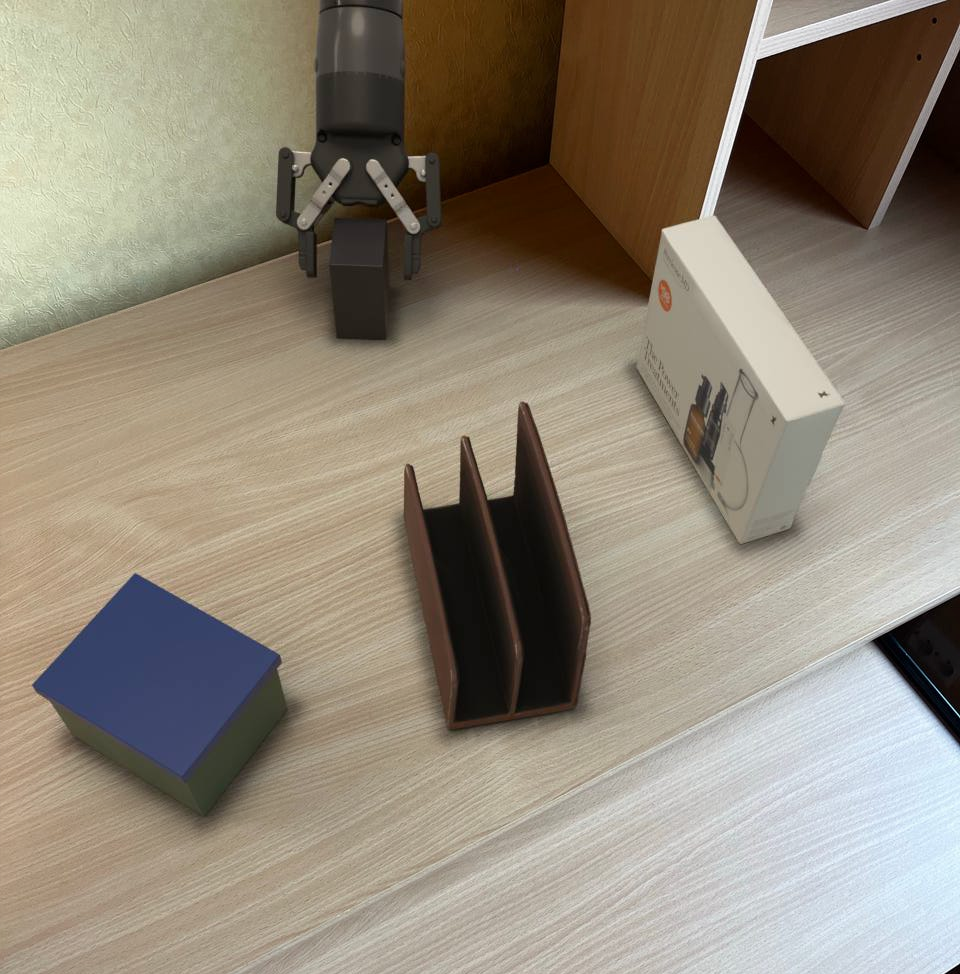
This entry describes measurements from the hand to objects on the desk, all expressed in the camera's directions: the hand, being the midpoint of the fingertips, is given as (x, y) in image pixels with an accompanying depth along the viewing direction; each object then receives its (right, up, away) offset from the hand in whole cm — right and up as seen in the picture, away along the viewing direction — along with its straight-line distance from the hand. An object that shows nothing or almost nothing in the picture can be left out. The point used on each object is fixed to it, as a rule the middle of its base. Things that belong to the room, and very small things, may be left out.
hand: (359, 278), depth 97 cm
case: (0, -2, +5) cm, 5 cm away
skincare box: (+30, -15, -1) cm, 34 cm away
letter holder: (+11, -30, -10) cm, 33 cm away
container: (-11, -38, -16) cm, 43 cm away
